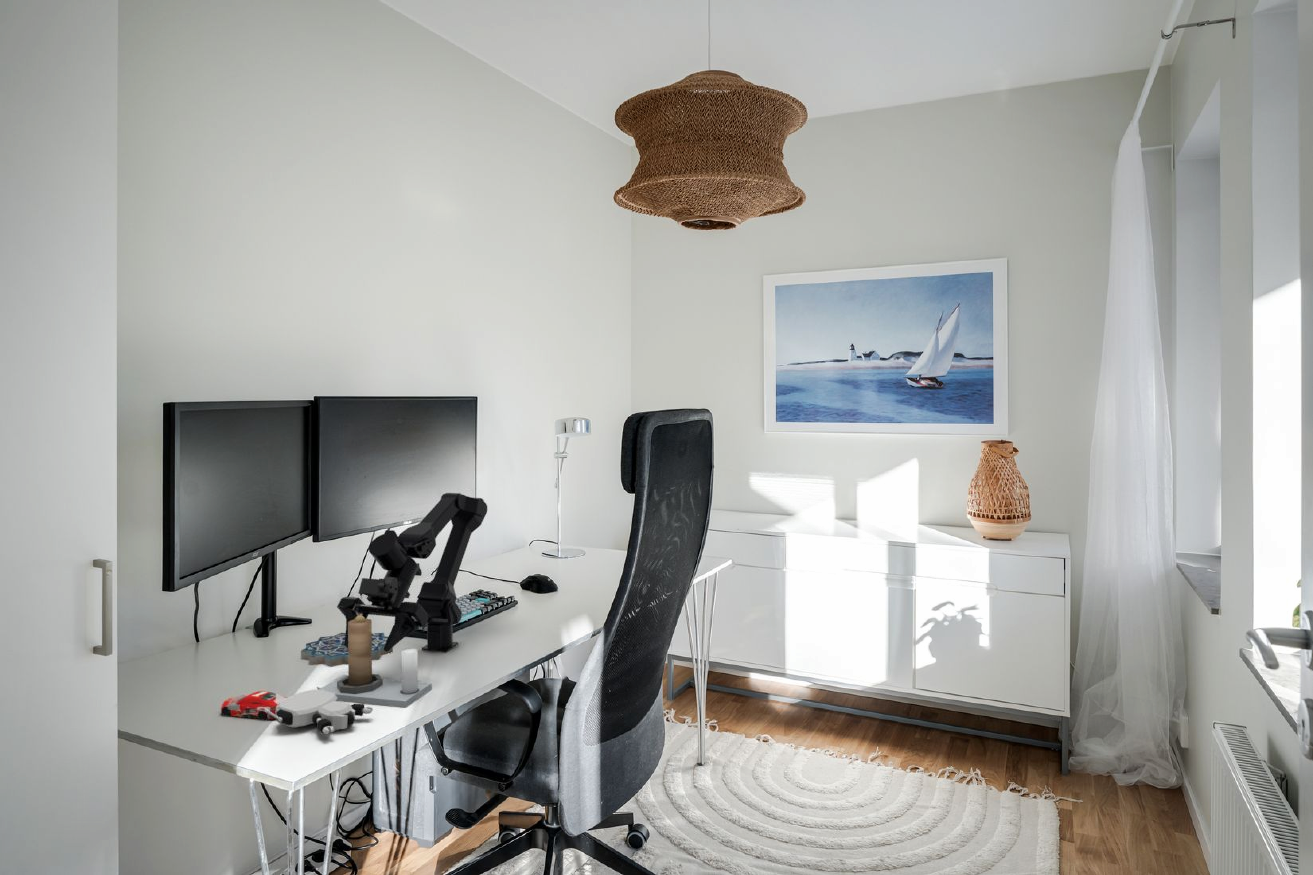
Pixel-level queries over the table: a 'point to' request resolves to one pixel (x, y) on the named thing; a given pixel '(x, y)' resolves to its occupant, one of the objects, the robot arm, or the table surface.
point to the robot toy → (318, 711)
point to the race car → (252, 705)
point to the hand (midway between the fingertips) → (365, 648)
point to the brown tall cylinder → (360, 651)
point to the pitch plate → (384, 686)
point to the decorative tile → (339, 650)
